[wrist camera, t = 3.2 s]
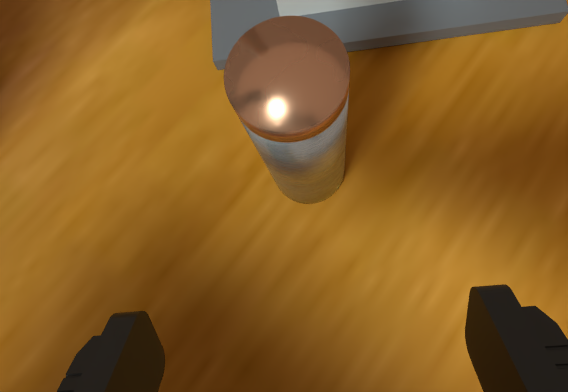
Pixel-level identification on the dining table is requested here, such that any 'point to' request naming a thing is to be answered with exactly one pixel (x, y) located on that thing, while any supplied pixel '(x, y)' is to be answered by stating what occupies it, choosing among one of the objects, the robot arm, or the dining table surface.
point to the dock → (382, 19)
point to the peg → (293, 102)
